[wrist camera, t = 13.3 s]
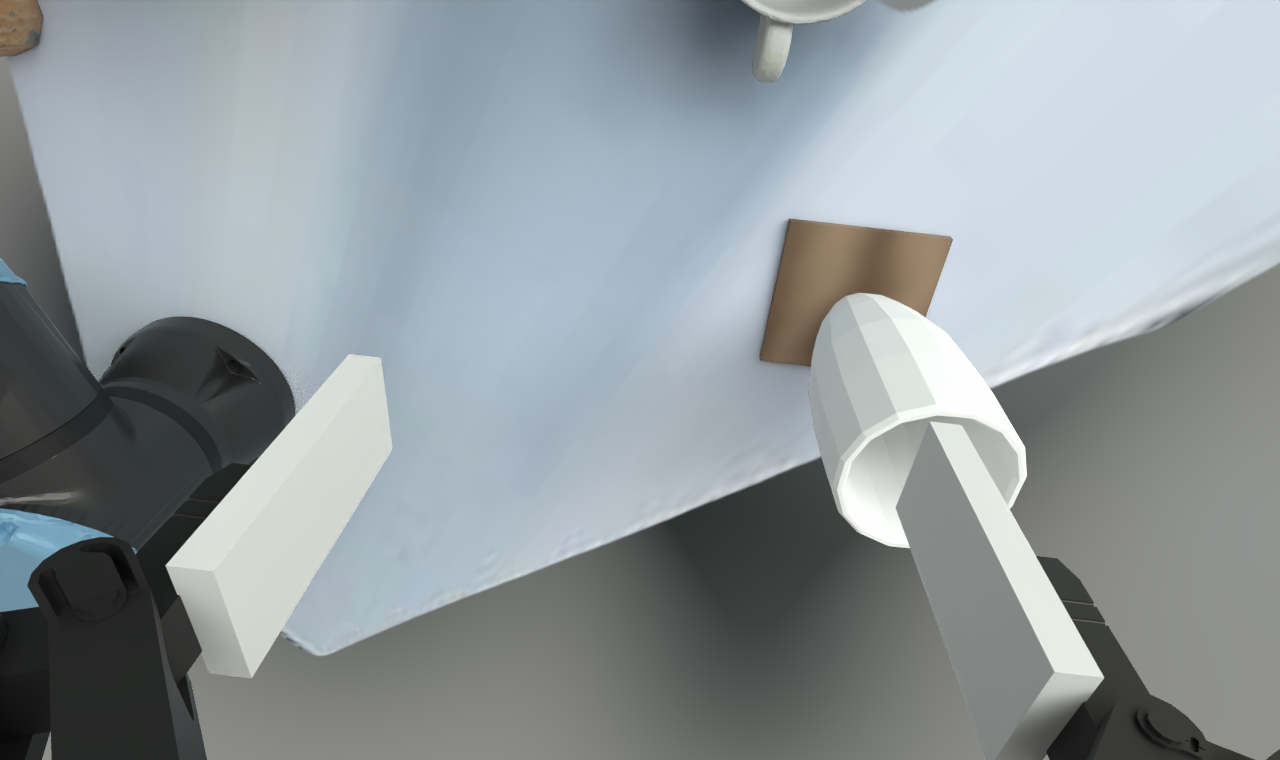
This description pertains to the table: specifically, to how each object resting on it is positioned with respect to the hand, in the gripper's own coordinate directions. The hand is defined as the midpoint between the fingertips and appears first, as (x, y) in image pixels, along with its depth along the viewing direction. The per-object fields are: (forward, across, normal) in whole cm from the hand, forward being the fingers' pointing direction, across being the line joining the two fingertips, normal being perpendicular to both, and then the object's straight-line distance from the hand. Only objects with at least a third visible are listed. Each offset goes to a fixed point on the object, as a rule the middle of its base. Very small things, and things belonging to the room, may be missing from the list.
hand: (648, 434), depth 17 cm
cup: (+36, +15, -12) cm, 41 cm away
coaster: (+37, +15, -12) cm, 41 cm away
